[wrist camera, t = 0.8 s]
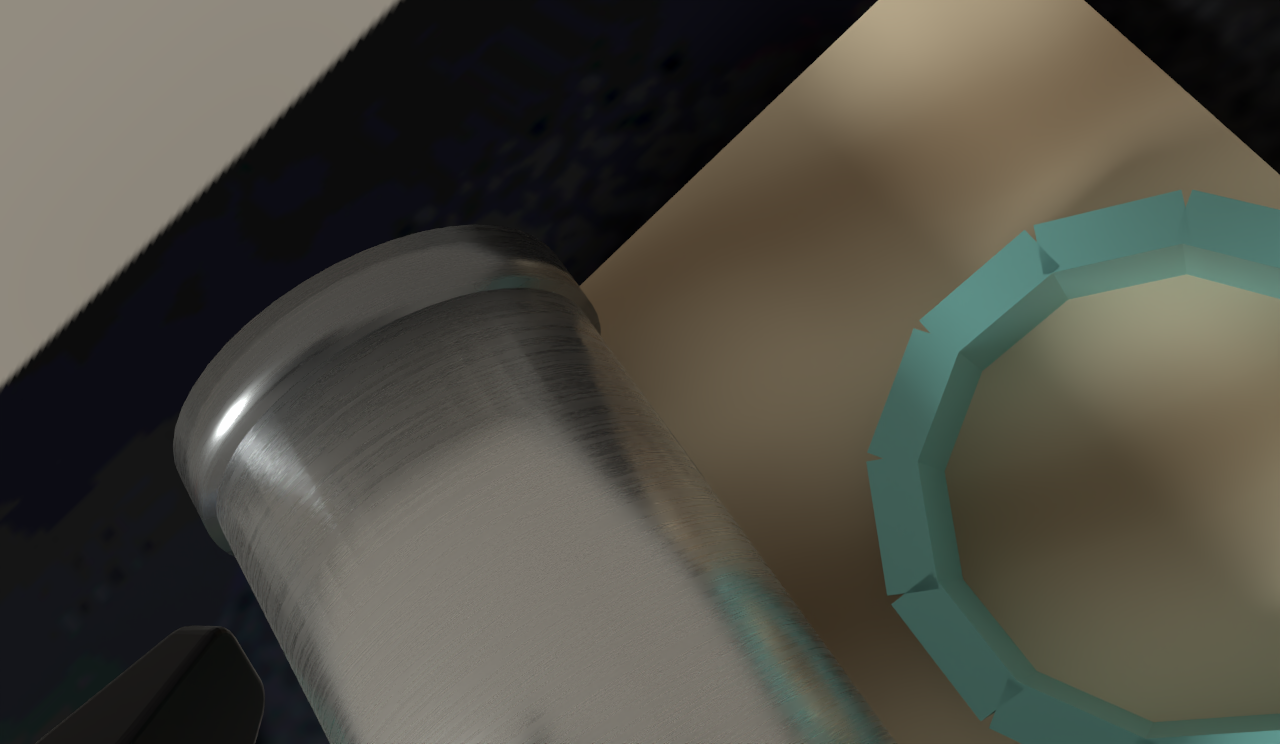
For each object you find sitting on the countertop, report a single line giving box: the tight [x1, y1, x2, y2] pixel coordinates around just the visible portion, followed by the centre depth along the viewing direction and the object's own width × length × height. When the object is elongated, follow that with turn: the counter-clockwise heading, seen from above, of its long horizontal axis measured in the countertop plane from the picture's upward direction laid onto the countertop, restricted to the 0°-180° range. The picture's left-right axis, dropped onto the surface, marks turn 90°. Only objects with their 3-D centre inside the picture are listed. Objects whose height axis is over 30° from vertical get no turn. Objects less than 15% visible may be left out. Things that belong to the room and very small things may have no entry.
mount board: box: [579, 0, 1280, 744], centre depth 20 cm, size 18×17×1 cm
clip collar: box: [866, 190, 1280, 744], centre depth 18 cm, size 8×8×2 cm
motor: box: [173, 225, 897, 744], centre depth 18 cm, size 14×7×8 cm, turn 37°
